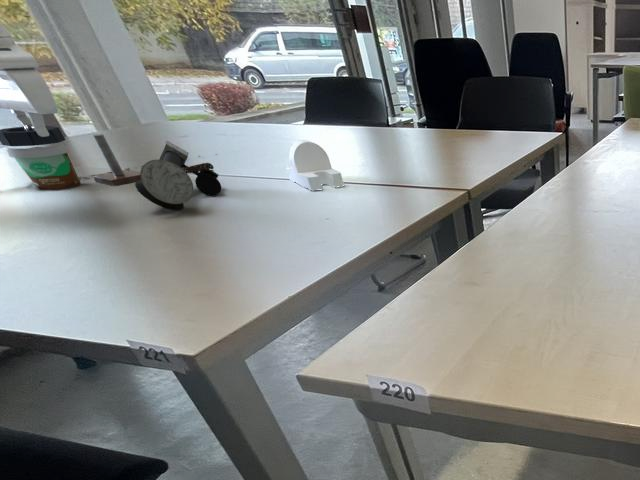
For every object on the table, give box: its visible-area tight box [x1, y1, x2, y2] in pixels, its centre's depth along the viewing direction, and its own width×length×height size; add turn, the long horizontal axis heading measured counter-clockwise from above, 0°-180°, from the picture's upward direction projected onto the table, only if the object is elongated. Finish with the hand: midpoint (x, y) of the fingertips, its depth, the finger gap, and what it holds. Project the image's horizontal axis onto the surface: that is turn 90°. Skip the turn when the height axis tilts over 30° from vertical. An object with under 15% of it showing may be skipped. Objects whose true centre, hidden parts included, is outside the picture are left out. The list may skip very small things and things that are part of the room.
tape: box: [0, 125, 66, 147], centre depth 112 cm, size 10×10×2 cm
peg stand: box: [92, 133, 141, 186], centre depth 143 cm, size 9×9×12 cm
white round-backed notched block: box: [285, 139, 345, 191], centre depth 146 cm, size 10×18×11 cm, turn 44°
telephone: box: [134, 140, 222, 212], centre depth 130 cm, size 15×13×30 cm
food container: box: [6, 142, 82, 191], centre depth 136 cm, size 12×6×10 cm, turn 129°
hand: (39, 135), depth 110 cm, fingers closed on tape, 2 cm apart
